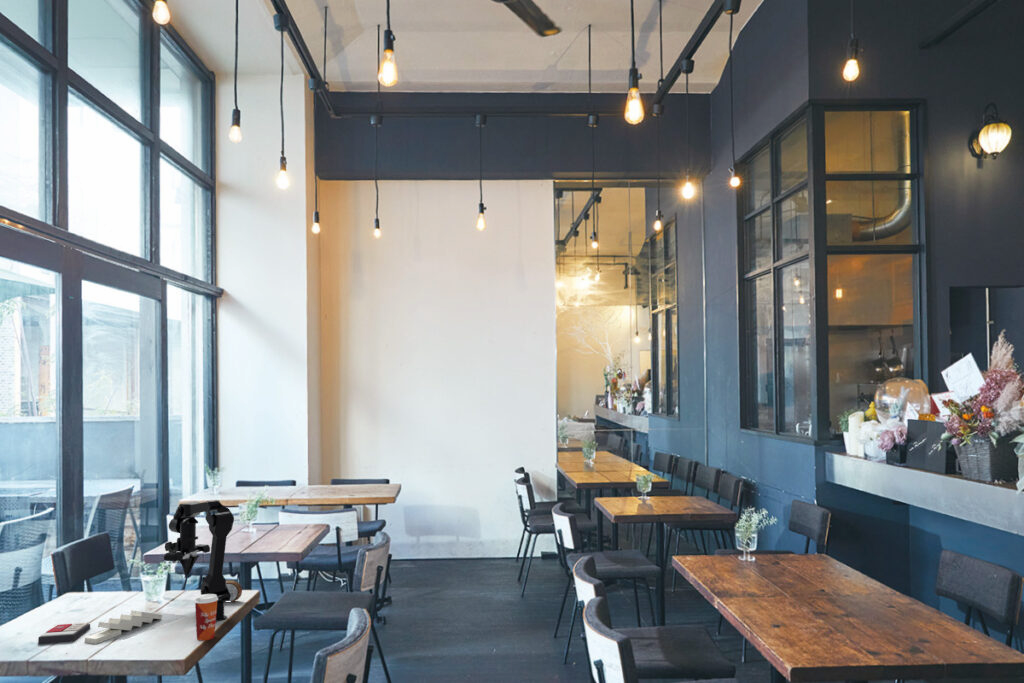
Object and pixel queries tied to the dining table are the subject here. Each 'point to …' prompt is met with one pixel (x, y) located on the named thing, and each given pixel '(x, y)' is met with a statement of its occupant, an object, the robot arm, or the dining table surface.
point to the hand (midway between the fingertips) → (187, 574)
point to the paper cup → (206, 616)
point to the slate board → (146, 625)
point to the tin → (233, 590)
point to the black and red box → (64, 633)
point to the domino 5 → (146, 614)
